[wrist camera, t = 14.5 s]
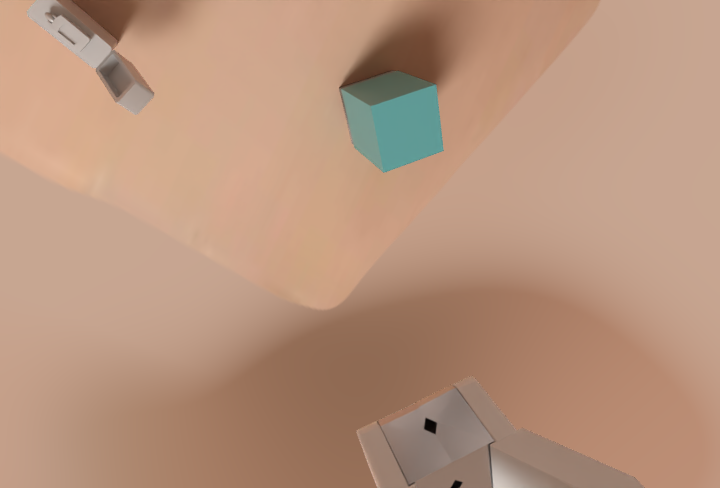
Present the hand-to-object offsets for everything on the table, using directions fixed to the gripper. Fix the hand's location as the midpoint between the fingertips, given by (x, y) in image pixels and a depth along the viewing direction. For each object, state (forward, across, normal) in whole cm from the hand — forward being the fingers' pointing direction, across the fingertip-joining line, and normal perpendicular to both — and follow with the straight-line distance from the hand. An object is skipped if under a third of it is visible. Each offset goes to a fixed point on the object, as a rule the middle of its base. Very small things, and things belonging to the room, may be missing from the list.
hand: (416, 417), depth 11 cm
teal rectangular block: (+30, -11, +3) cm, 32 cm away
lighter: (+31, +7, -7) cm, 33 cm away
